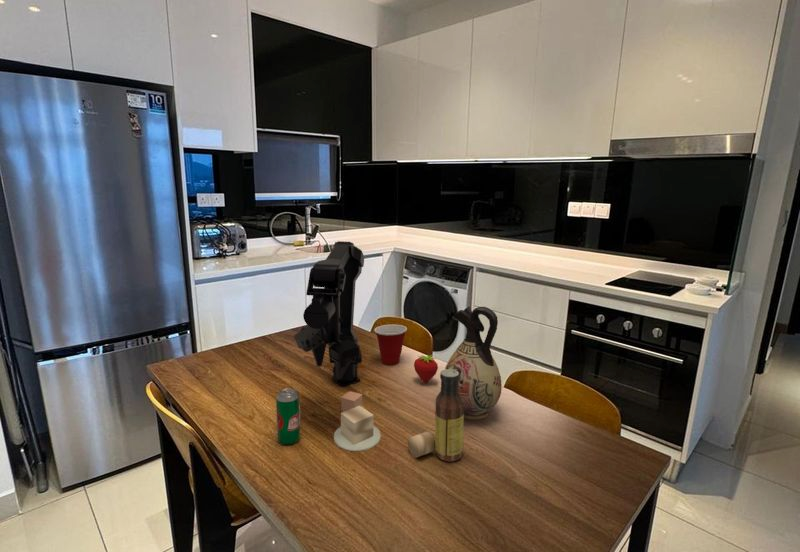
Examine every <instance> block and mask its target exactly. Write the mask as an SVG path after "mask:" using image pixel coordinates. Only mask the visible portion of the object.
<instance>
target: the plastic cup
mask: <svg viewBox="0 0 800 552" xmlns="http://www.w3.org/2000/svg"><path fill="white" fill-rule="evenodd" d="M407 330H408V327H407V326H405V325H402V324H393V323H392V324H382V325H380V326H379V325H378V326H377V327H375V328H374V333H375V334H376V339H377V343H378V348H379V353H380V360H381V363H382V364H383V365H386V366H395V365H398V364H399V362H400V360H401V356H402V355H401V354H402V350H403V345H404V340H405V336H406V333H407Z"/></svg>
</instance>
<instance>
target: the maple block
mask: <svg viewBox="0 0 800 552" xmlns="http://www.w3.org/2000/svg"><path fill="white" fill-rule="evenodd" d="M374 415H375V414H373V413H371V412H370V411H368V410H367V409H366V408H365V407H363V406H362V407H361V406H357V407H355V408H352V409H350V410H347V411H345V412H343V411H341V412H340V427H341V434H342V435H343V436H344V437H345V438H346V439H348V440H349V441H350V442H351V443H352V444H354V445H355V444H357V443H359V442H361V441H364V440H366V439H368V438H370V437H372V436H373V425H374V421H375V419H374Z"/></svg>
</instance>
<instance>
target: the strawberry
mask: <svg viewBox="0 0 800 552" xmlns="http://www.w3.org/2000/svg"><path fill="white" fill-rule="evenodd" d="M417 357H418V358H417V359H415V360H414V362H413V368H414V371H415V373H416V374H417V376H418V377H419V379H420V380H421V381H422V382H423V383H424V384H427V383H429V381H430V380H432V379H433V378H434V376H436V374H437V372H438V369H439V366H438V363H437V361H436V360H435V358H434V357H433V354H430V355H427V356H426V355H424V354H421V355H420V356H419V355H417Z"/></svg>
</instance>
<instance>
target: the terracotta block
mask: <svg viewBox="0 0 800 552" xmlns="http://www.w3.org/2000/svg"><path fill="white" fill-rule="evenodd" d="M340 399H341V401H340V402H341V404H340V405H341V412H345V411H347V410H350V409H352V408H355V407H357V406H361V407H363V394H362V393H359V392H355V391H351V390H349V391H347V392H346V393H345V394H344V395H343V396H342V397H341V398H340Z"/></svg>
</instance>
